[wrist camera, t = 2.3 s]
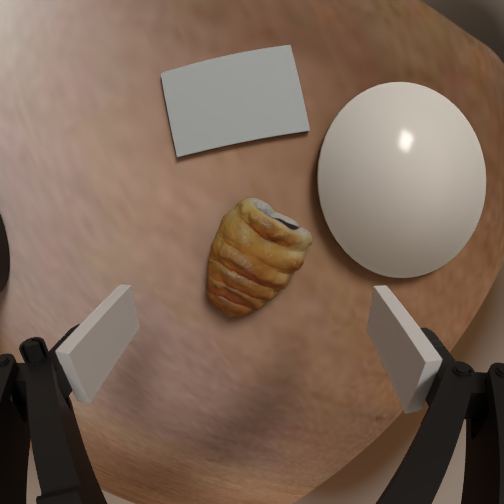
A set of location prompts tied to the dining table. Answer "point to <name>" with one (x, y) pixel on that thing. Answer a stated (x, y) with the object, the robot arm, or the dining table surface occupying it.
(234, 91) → the napkin
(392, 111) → the plate
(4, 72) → the dining table surface
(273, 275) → the pastry
